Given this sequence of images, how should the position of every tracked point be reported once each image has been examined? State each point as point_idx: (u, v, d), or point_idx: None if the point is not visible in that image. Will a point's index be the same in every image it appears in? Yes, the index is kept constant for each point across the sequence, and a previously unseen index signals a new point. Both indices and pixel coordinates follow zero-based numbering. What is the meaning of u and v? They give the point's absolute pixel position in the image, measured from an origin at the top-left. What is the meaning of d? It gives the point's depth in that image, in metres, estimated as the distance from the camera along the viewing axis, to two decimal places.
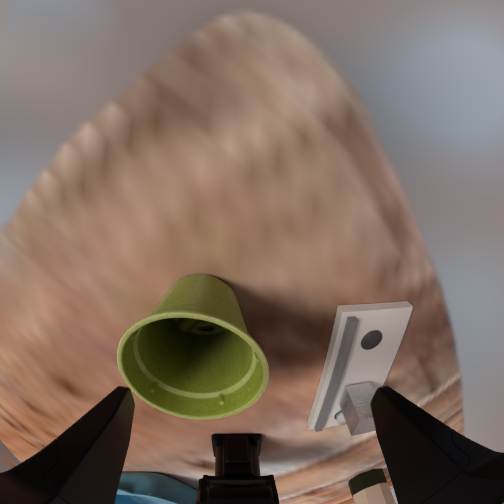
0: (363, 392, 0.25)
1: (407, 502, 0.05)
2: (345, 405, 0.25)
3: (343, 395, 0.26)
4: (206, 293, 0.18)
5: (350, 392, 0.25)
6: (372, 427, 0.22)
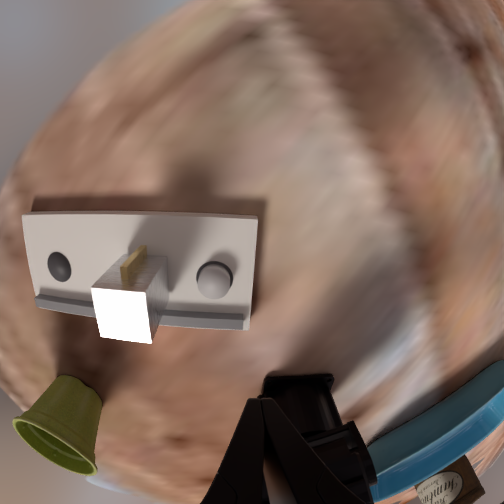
0: None
1: None
2: None
3: None
4: None
5: None
6: (130, 306, 0.12)
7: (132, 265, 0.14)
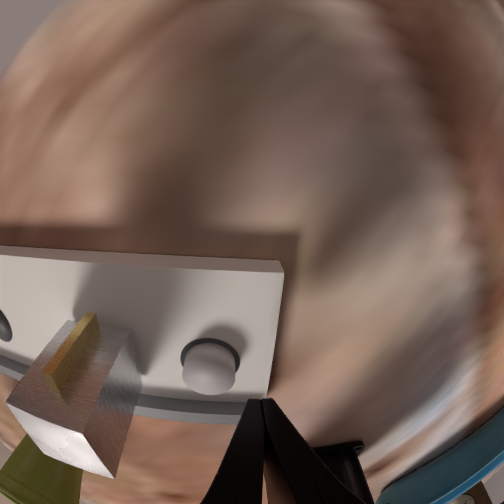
0: None
1: None
2: None
3: None
4: None
5: None
6: (67, 441, 0.05)
7: (65, 364, 0.06)
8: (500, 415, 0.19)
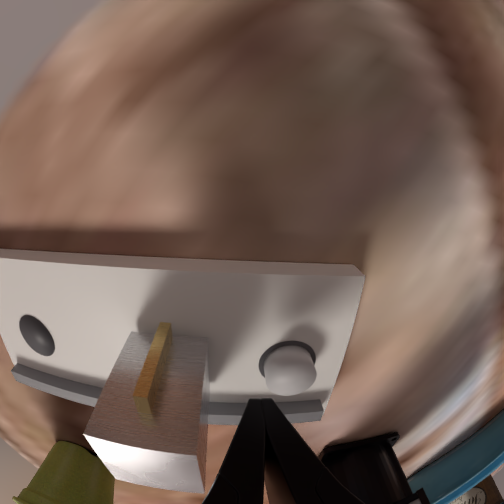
0: None
1: None
2: None
3: None
4: None
5: None
6: (166, 465, 0.05)
7: (154, 383, 0.07)
8: None
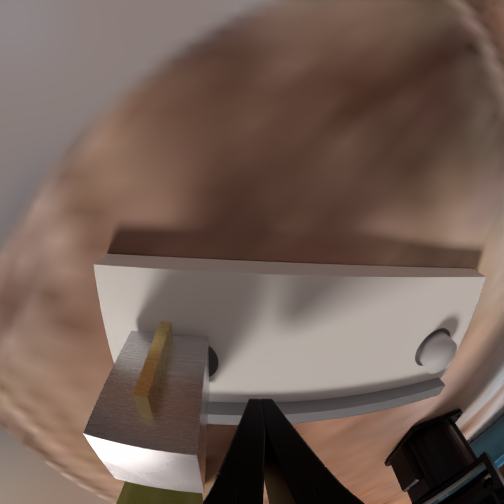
0: None
1: None
2: None
3: None
4: None
5: None
6: (167, 465, 0.05)
7: (154, 382, 0.07)
8: None
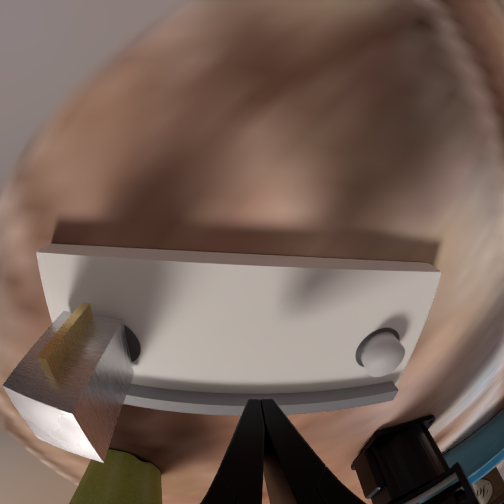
0: None
1: None
2: None
3: None
4: None
5: None
6: (59, 422, 0.05)
7: (59, 350, 0.07)
8: None
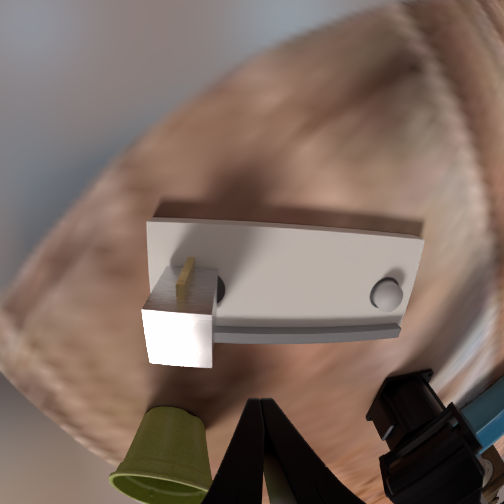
0: None
1: None
2: None
3: None
4: None
5: None
6: (191, 330, 0.11)
7: (187, 282, 0.13)
8: None
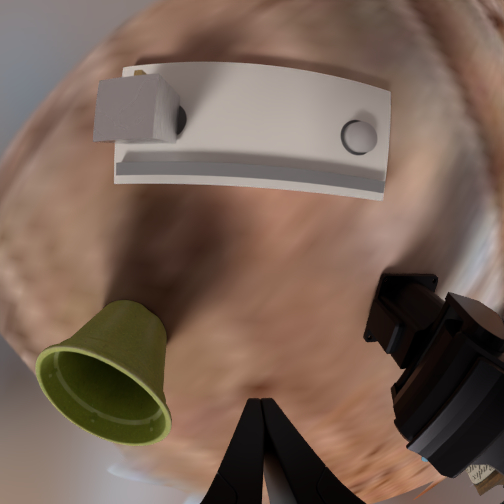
0: None
1: None
2: (148, 142, 0.14)
3: (147, 143, 0.15)
4: None
5: None
6: (138, 91, 0.10)
7: None
8: None
